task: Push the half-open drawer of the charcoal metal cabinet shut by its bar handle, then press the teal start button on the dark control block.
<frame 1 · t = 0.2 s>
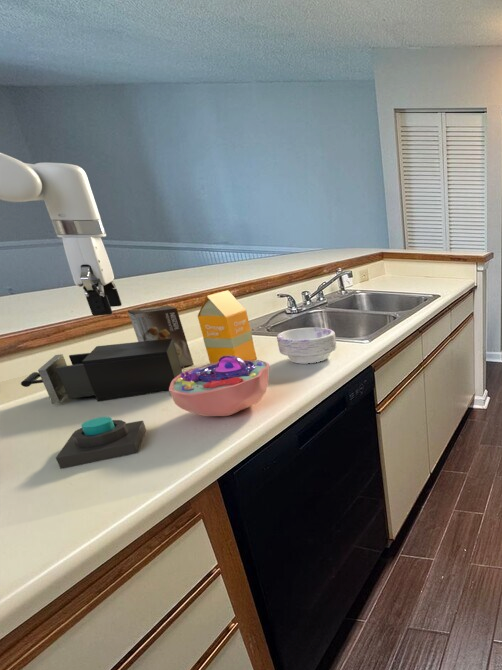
hand: (108, 310, 94), 19 cm above the countertop, tool pointing down, fingers open, 9 cm apart
paper bowls: (310, 359, 124), on the countertop
drawer: (82, 374, 96), point 5 cm above the countertop, slide at 6.0 cm
cell model: (230, 410, 92), on the countertop
start button: (98, 426, 75), point 4 cm above the countertop, slide at 0.1 cm
cabinet: (143, 386, 103), on the countertop
coffee box: (170, 367, 116), on the countertop
orange juice: (234, 363, 119), on the countertop
control block: (107, 448, 77), on the countertop
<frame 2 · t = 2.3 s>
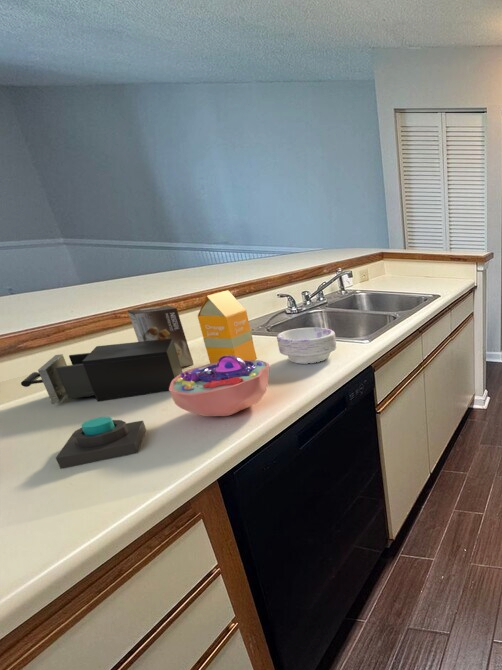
nothing on the countertop moved.
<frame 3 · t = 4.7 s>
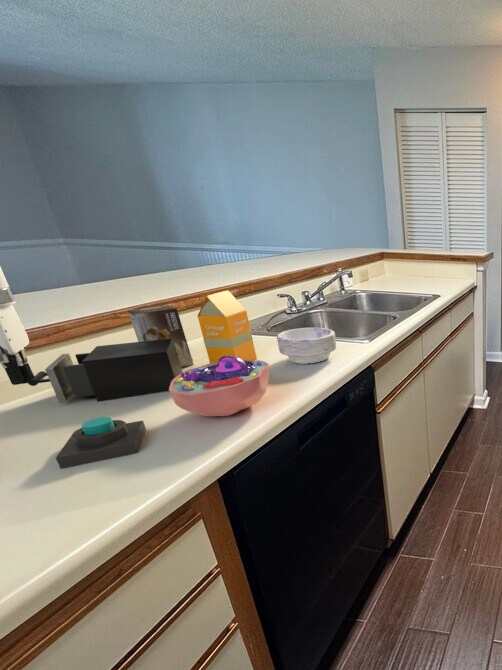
hand: (24, 382, 92), 5 cm above the countertop, tool pointing down, fingers closed
drawer: (88, 374, 97), point 5 cm above the countertop, slide at 4.9 cm
everything else where it was.
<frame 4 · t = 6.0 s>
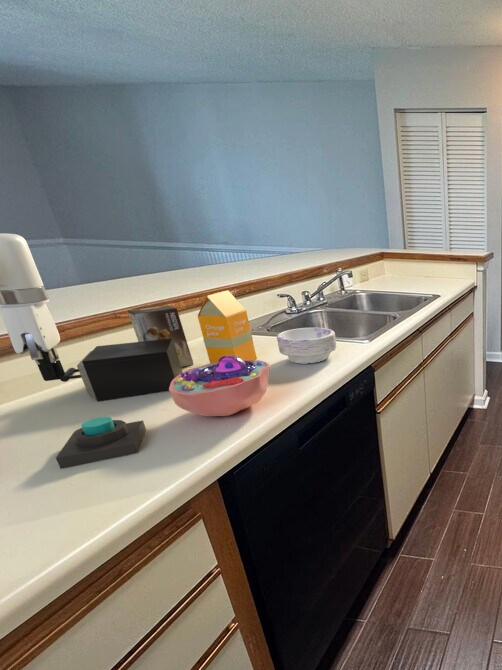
hand: (55, 378, 94), 5 cm above the countertop, tool pointing down, fingers closed
drawer: (116, 370, 99), point 5 cm above the countertop, slide at 0.0 cm, touching cabinet, gripper
everything else where it was.
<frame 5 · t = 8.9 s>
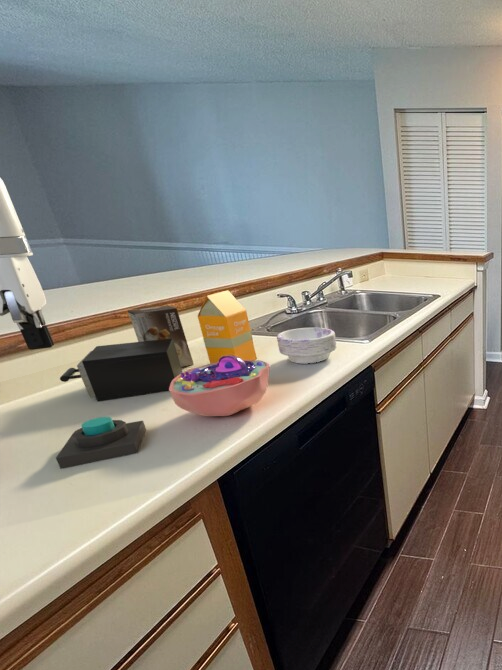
hand: (42, 347, 81), 15 cm above the countertop, tool pointing down, fingers closed
drawer: (116, 370, 99), point 5 cm above the countertop, slide at 0.0 cm, touching cabinet
everything else where it was.
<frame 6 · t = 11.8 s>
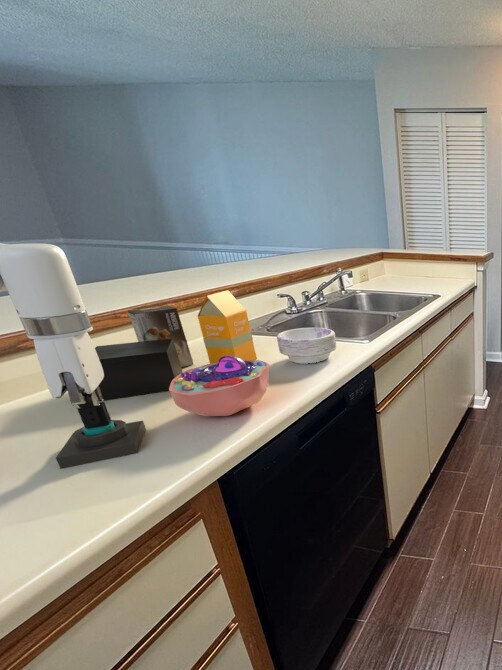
hand: (99, 425, 75), 5 cm above the countertop, tool pointing down, fingers closed
start button: (99, 429, 75), point 4 cm above the countertop, slide at -0.6 cm, touching gripper
everything else where it was.
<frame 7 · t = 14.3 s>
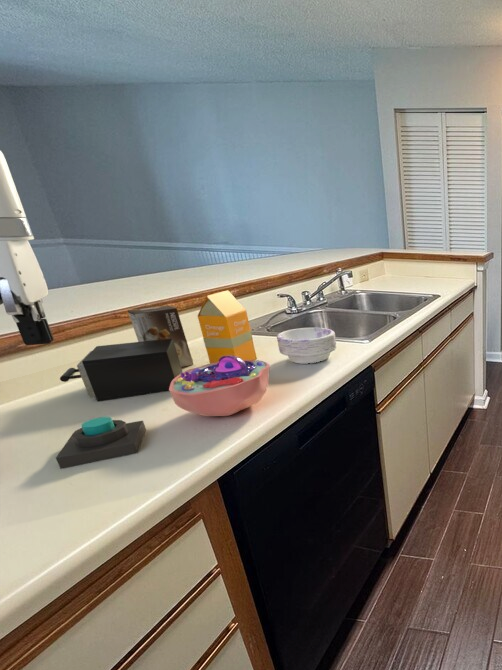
hand: (40, 343, 72), 19 cm above the countertop, tool pointing down, fingers closed
start button: (98, 426, 75), point 4 cm above the countertop, slide at 0.1 cm
everything else where it was.
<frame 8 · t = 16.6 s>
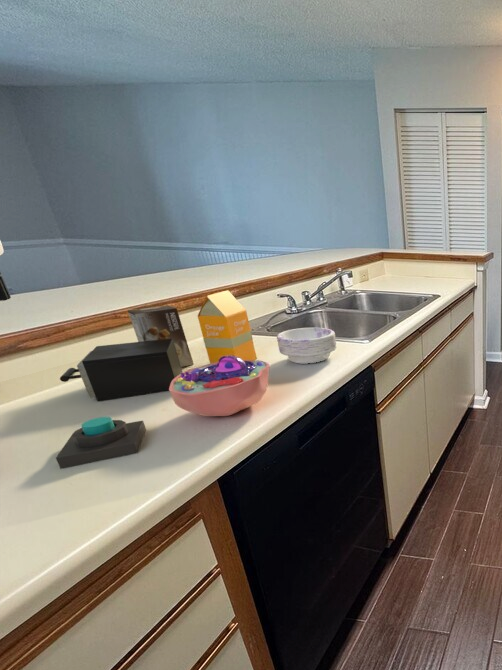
nothing on the countertop moved.
at the end: drawer slide at 0.0 cm; start button pushed in 1.1 cm at the most during the clip, back to where it started at the end; start button slide at 0.1 cm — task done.
